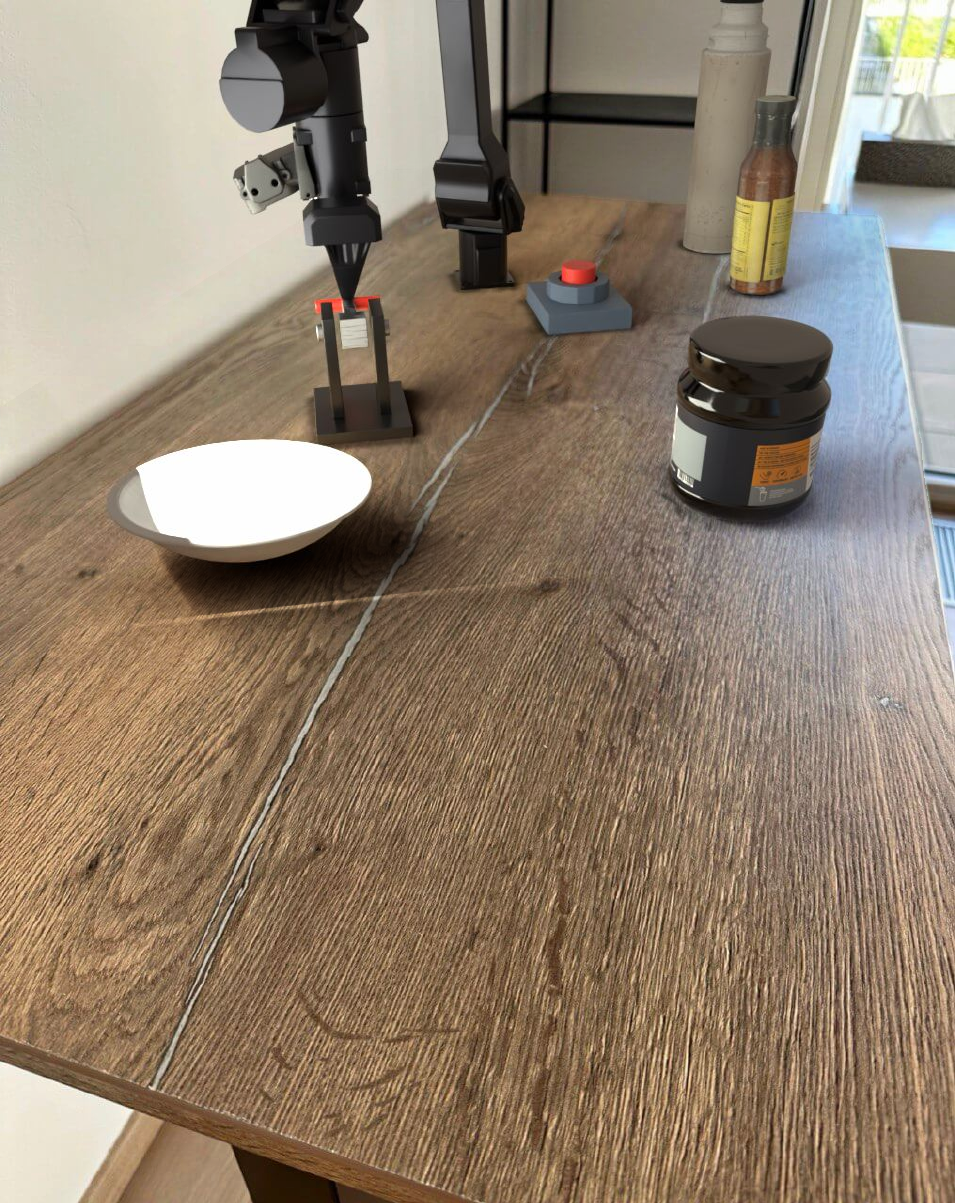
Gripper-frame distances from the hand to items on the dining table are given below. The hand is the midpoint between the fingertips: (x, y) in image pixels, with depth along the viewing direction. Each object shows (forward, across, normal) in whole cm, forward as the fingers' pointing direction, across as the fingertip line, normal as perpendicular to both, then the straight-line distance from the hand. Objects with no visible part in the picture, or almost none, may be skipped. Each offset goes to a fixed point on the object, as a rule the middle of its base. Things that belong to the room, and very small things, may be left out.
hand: (347, 298), depth 89 cm
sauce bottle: (+8, -15, +47) cm, 50 cm away
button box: (+7, -11, +25) cm, 28 cm away
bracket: (+7, +11, 0) cm, 13 cm away
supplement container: (+7, +30, +27) cm, 41 cm away
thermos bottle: (+8, -33, +49) cm, 60 cm away
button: (+4, -11, +25) cm, 28 cm away
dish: (+7, +31, -9) cm, 33 cm away
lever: (+1, +6, 0) cm, 6 cm away
